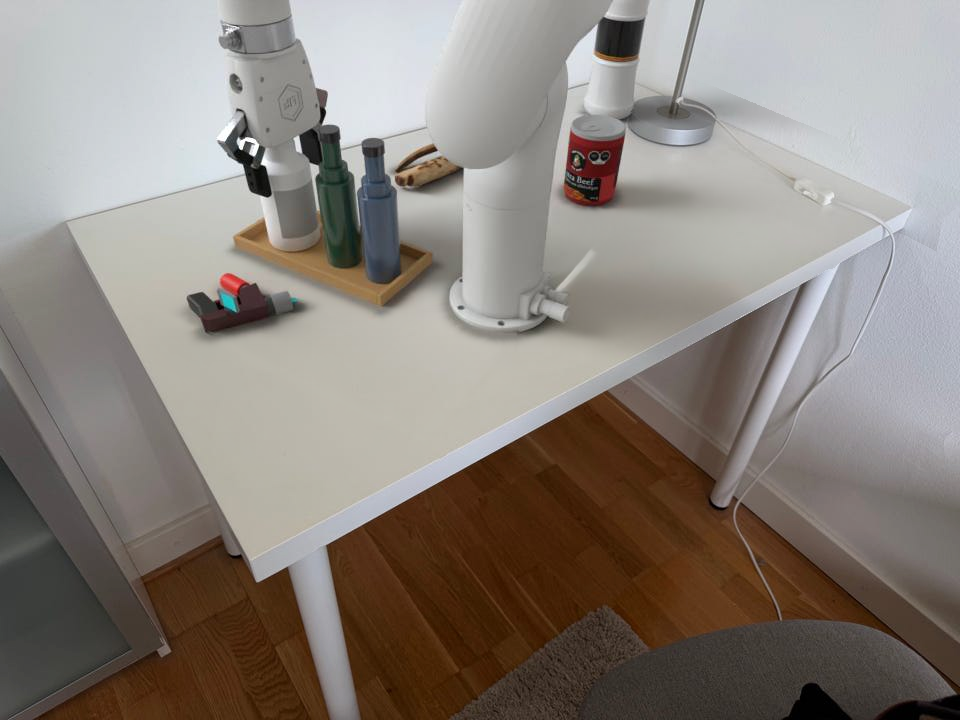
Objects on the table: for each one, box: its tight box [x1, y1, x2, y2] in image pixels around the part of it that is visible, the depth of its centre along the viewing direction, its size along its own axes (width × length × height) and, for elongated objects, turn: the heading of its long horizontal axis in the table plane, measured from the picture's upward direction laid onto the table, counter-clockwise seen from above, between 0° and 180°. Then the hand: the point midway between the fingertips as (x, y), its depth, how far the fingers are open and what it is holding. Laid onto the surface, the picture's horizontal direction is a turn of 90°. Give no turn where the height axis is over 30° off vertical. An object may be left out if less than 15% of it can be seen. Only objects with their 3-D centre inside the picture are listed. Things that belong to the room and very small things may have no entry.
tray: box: [232, 210, 434, 307], centre depth 90 cm, size 24×11×2 cm, turn 59°
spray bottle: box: [259, 138, 321, 252], centre depth 87 cm, size 7×7×18 cm
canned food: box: [563, 114, 627, 207], centre depth 102 cm, size 8×8×11 cm
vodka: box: [583, 0, 651, 121], centre depth 119 cm, size 9×9×30 cm
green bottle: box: [314, 124, 363, 268], centre depth 84 cm, size 5×5×18 cm
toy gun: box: [186, 272, 300, 335], centre depth 81 cm, size 10×12×5 cm
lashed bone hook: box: [394, 142, 463, 188], centre depth 108 cm, size 9×5×18 cm
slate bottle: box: [356, 137, 402, 284], centre depth 82 cm, size 5×5×18 cm
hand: (288, 178), depth 87 cm, fingers open, 9 cm apart
